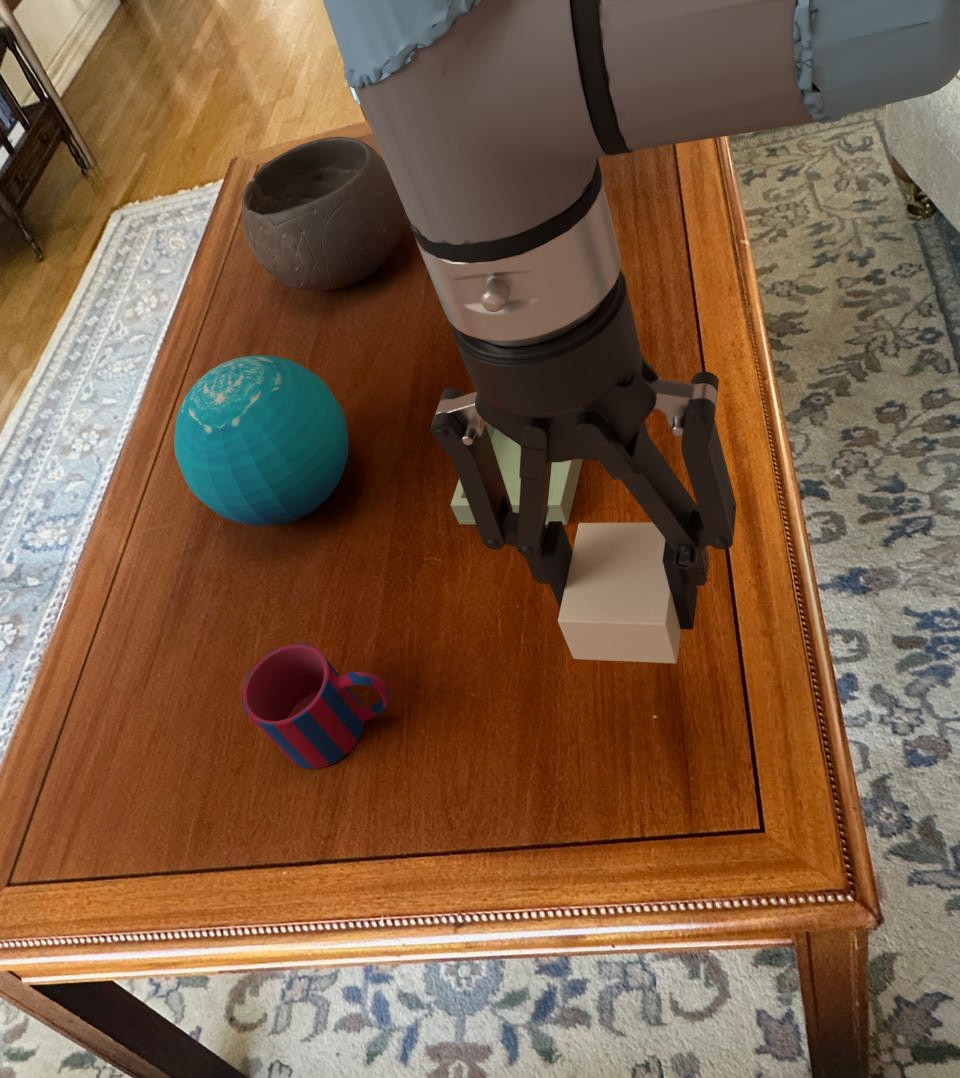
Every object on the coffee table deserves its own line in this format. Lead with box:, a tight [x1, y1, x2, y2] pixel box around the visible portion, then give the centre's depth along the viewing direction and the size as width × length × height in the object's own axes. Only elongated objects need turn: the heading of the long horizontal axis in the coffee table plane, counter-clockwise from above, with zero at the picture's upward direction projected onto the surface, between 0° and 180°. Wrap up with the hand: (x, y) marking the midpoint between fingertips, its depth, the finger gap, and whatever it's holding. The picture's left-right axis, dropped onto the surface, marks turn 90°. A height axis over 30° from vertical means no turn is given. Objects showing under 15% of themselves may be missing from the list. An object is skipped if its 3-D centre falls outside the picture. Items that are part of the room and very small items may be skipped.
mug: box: [241, 642, 391, 770], centre depth 71 cm, size 7×10×7 cm
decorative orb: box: [173, 354, 349, 527], centre depth 86 cm, size 15×15×15 cm
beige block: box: [557, 521, 682, 664], centre depth 56 cm, size 7×6×4 cm
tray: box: [450, 422, 584, 526], centre depth 86 cm, size 19×10×3 cm, turn 166°
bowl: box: [241, 136, 406, 292], centre depth 110 cm, size 18×18×13 cm
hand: (631, 607), depth 58 cm, fingers closed on beige block, 6 cm apart
